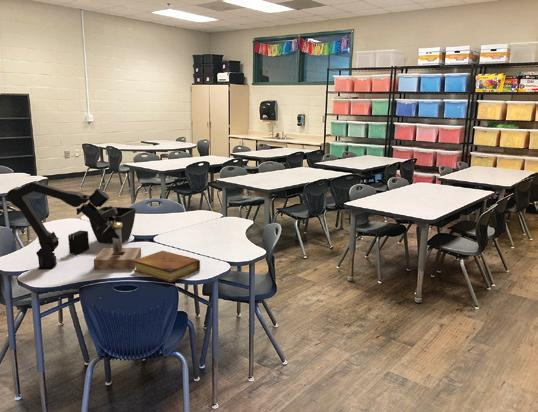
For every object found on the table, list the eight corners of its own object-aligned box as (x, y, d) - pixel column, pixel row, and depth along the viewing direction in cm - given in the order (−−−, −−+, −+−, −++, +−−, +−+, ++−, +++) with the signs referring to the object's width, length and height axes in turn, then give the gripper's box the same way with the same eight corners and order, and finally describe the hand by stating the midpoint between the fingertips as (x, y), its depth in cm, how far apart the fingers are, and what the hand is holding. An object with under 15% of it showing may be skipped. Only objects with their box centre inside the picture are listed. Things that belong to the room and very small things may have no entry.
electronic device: (89, 249, 238) (88, 230, 236) (76, 255, 229) (75, 235, 226) (82, 248, 239) (81, 229, 237) (69, 254, 230) (67, 235, 227)
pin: (113, 252, 211) (112, 225, 208) (110, 250, 215) (108, 223, 213) (125, 251, 214) (123, 224, 211) (121, 248, 218) (120, 221, 216)
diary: (200, 271, 211) (200, 259, 210) (170, 283, 196) (170, 270, 195) (164, 261, 224) (163, 249, 222) (133, 272, 208) (133, 259, 207)
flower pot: (122, 246, 243) (120, 215, 239) (89, 244, 246) (86, 213, 242) (137, 236, 261) (136, 208, 258) (106, 235, 264) (104, 206, 261)
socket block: (94, 269, 209) (93, 260, 208) (103, 256, 227) (103, 248, 226) (134, 268, 211) (134, 259, 210) (141, 256, 228) (140, 247, 228)
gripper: (101, 206, 200) (129, 230, 204) (109, 197, 218) (134, 219, 222) (84, 223, 201) (111, 247, 205) (93, 214, 219) (118, 235, 223)
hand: (119, 236), depth 214 cm, fingers closed on pin, 4 cm apart
